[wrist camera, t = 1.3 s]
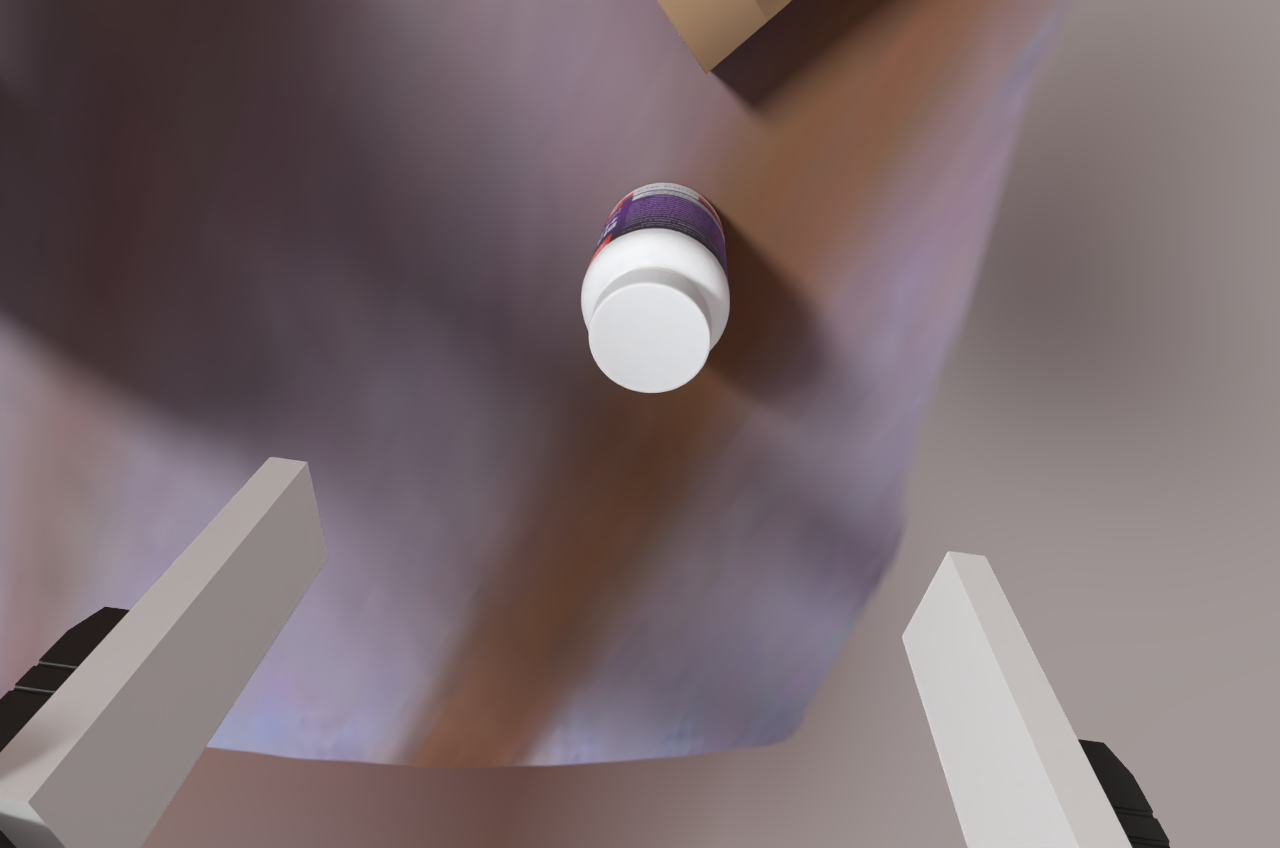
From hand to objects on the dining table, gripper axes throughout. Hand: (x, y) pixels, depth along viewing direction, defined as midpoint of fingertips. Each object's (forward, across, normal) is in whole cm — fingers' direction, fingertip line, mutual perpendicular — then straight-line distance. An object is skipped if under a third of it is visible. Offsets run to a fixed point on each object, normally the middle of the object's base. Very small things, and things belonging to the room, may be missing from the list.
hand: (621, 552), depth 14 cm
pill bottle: (+19, 0, 0) cm, 19 cm away
